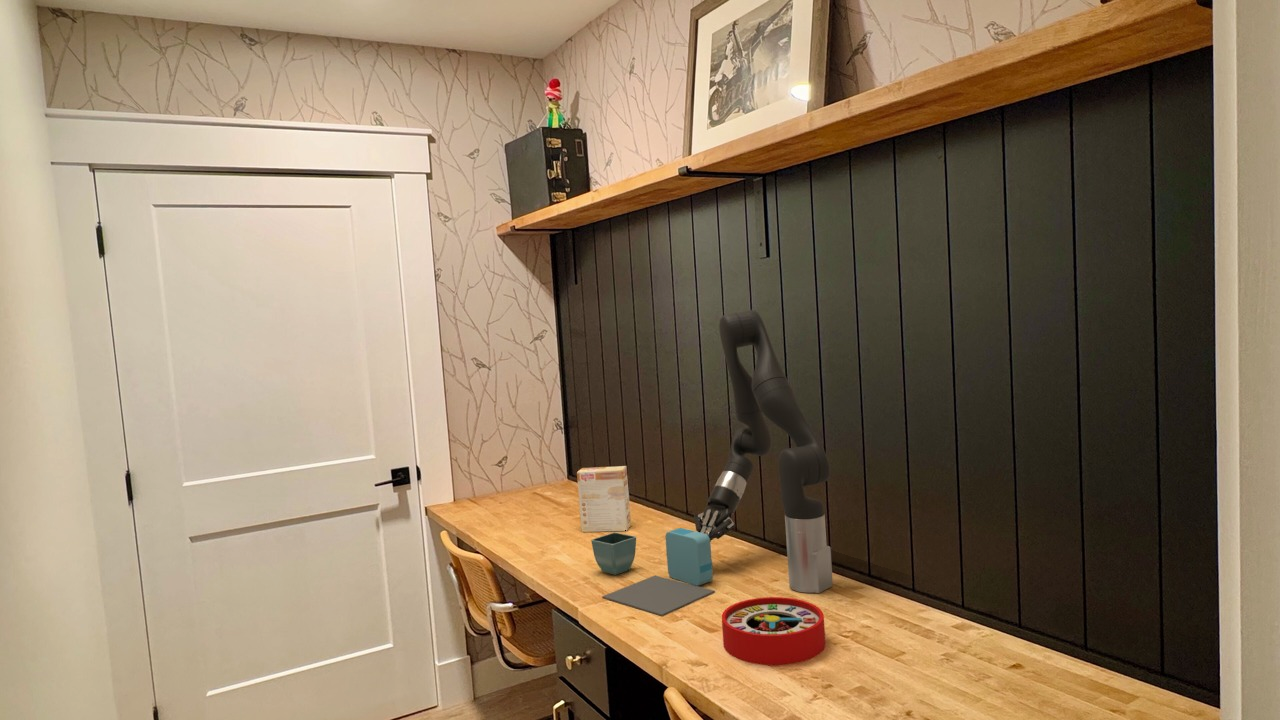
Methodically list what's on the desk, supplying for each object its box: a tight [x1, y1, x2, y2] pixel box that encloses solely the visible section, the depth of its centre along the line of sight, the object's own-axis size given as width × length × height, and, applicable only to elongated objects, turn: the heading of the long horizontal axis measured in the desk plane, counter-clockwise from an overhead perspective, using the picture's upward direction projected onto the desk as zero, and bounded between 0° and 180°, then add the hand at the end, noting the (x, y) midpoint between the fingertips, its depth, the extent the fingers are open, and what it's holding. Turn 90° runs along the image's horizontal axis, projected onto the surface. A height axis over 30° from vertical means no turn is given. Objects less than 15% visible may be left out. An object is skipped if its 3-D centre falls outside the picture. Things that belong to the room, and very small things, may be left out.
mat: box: [601, 575, 716, 617], centre depth 188 cm, size 20×18×1 cm
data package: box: [665, 527, 714, 587], centre depth 197 cm, size 12×4×12 cm, turn 39°
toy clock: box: [721, 596, 826, 666], centre depth 156 cm, size 20×6×20 cm
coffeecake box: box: [576, 465, 632, 533], centre depth 251 cm, size 15×7×20 cm, turn 80°
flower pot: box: [590, 531, 637, 576], centre depth 208 cm, size 9×9×9 cm
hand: (700, 550), depth 200 cm, fingers closed
